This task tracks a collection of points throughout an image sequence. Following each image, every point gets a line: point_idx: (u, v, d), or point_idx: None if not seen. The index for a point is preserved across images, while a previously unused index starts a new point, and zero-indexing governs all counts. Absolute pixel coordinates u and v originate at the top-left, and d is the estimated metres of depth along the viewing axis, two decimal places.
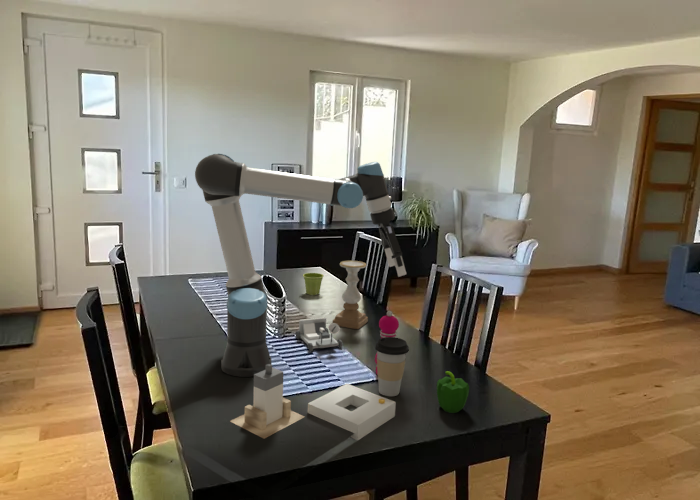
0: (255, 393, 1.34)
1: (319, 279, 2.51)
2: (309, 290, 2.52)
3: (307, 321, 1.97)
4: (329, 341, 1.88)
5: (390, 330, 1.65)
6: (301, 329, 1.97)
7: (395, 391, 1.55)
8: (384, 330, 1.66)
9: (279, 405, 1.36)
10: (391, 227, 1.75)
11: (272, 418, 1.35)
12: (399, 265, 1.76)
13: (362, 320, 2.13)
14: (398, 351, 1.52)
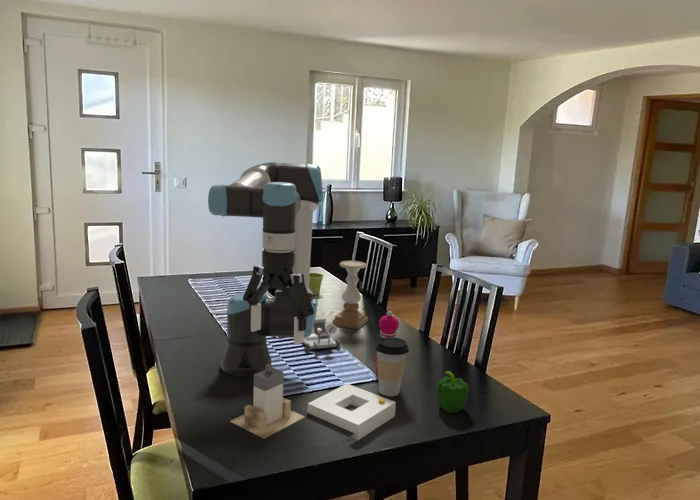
0: (255, 393, 1.34)
1: (319, 279, 2.51)
2: None
3: None
4: (327, 342, 1.88)
5: (390, 330, 1.65)
6: None
7: (395, 391, 1.55)
8: (384, 330, 1.66)
9: (279, 405, 1.36)
10: None
11: (272, 418, 1.35)
12: None
13: (362, 320, 2.13)
14: (398, 351, 1.52)
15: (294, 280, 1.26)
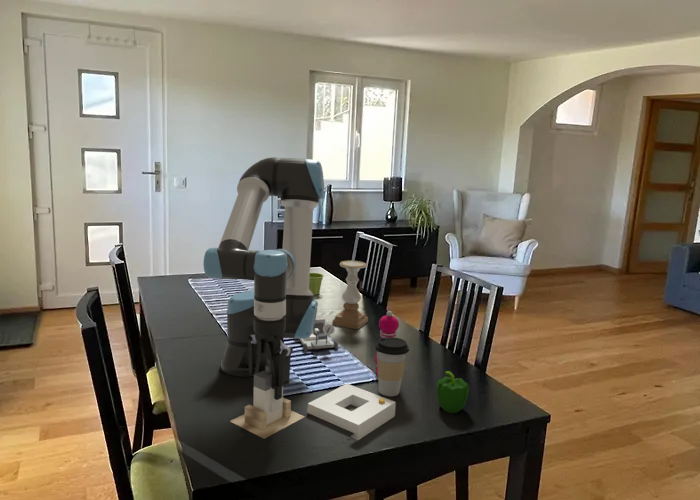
0: (255, 393, 1.34)
1: (319, 279, 2.51)
2: None
3: None
4: (324, 342, 1.87)
5: (390, 330, 1.65)
6: None
7: (395, 391, 1.55)
8: (384, 330, 1.66)
9: None
10: None
11: (272, 418, 1.35)
12: None
13: (362, 320, 2.13)
14: (398, 351, 1.52)
15: (282, 353, 1.29)
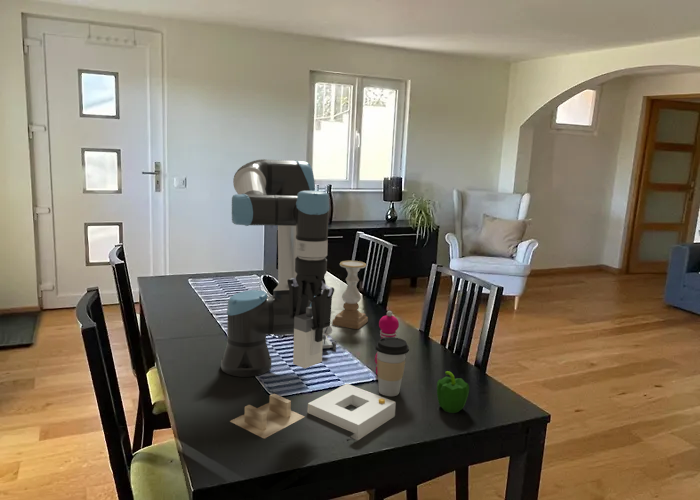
0: (295, 335, 1.33)
1: None
2: None
3: None
4: None
5: (390, 330, 1.65)
6: None
7: (395, 391, 1.55)
8: (384, 330, 1.66)
9: None
10: None
11: (312, 361, 1.34)
12: None
13: (362, 320, 2.13)
14: (398, 351, 1.52)
15: (323, 293, 1.28)
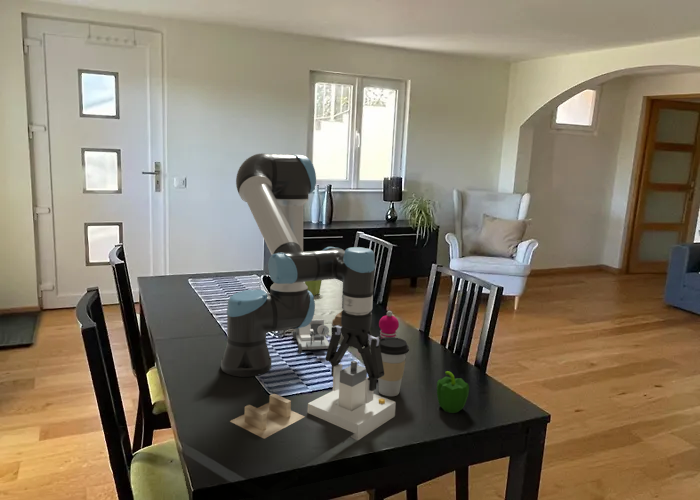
0: (341, 389, 1.39)
1: None
2: (309, 290, 2.52)
3: None
4: (319, 343, 1.86)
5: (390, 330, 1.65)
6: (297, 329, 1.96)
7: (395, 391, 1.55)
8: (384, 330, 1.66)
9: (362, 400, 1.42)
10: None
11: None
12: None
13: None
14: (398, 351, 1.52)
15: (371, 343, 1.34)
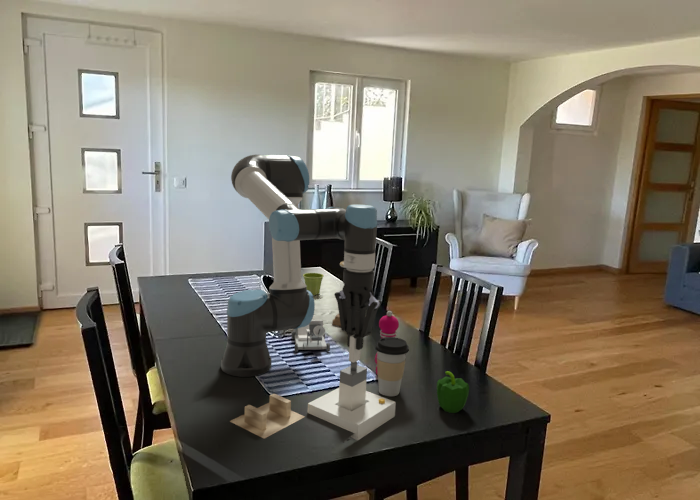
0: (341, 389, 1.39)
1: (319, 279, 2.51)
2: (309, 290, 2.52)
3: None
4: (316, 344, 1.85)
5: (390, 330, 1.65)
6: (296, 329, 1.96)
7: (395, 391, 1.55)
8: (384, 330, 1.66)
9: (362, 400, 1.42)
10: None
11: None
12: None
13: None
14: (398, 351, 1.52)
15: (371, 305, 1.33)
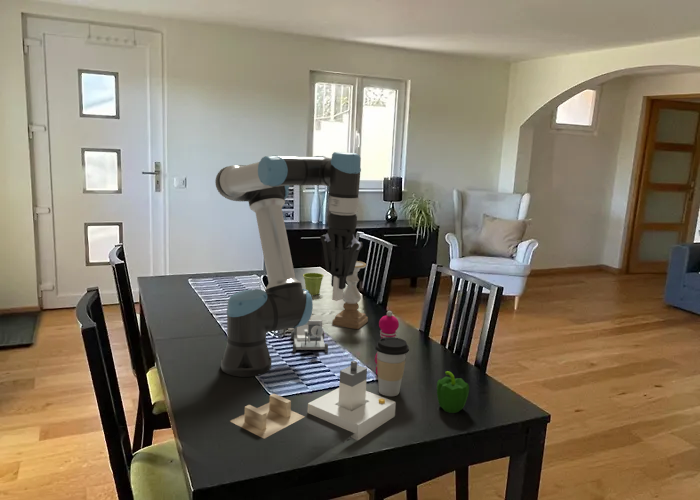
0: (341, 389, 1.39)
1: (319, 279, 2.51)
2: (309, 290, 2.52)
3: None
4: (314, 344, 1.85)
5: (390, 330, 1.65)
6: (295, 330, 1.96)
7: (395, 391, 1.55)
8: (384, 330, 1.66)
9: (362, 400, 1.42)
10: None
11: None
12: None
13: (362, 320, 2.13)
14: (398, 351, 1.52)
15: (353, 246, 1.42)
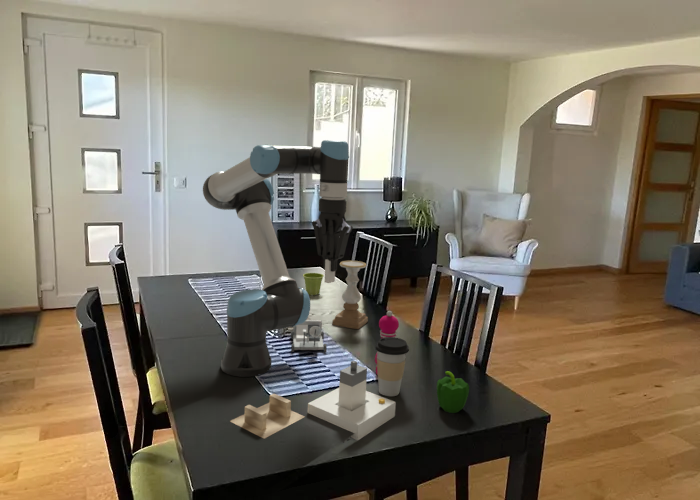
0: (341, 389, 1.39)
1: (319, 279, 2.51)
2: (309, 290, 2.52)
3: None
4: (313, 344, 1.85)
5: (390, 330, 1.65)
6: (295, 329, 1.96)
7: (395, 391, 1.55)
8: (384, 330, 1.66)
9: (362, 400, 1.42)
10: None
11: None
12: None
13: (362, 320, 2.13)
14: (398, 351, 1.52)
15: (343, 229, 1.49)
